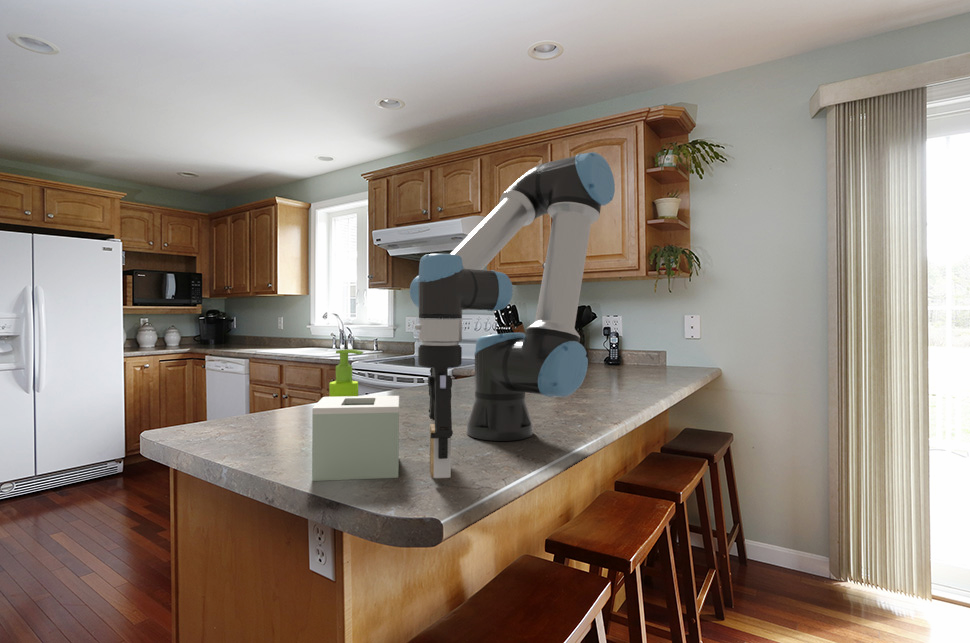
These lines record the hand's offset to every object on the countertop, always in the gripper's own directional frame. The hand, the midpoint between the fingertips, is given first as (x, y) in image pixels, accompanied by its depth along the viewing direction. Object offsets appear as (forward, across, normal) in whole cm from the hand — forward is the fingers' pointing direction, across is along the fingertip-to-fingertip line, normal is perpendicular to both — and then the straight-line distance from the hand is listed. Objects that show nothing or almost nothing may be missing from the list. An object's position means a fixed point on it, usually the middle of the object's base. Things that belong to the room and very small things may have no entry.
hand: (439, 465), depth 92 cm
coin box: (+1, -4, -14) cm, 15 cm away
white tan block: (+1, 0, 0) cm, 1 cm away
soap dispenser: (+1, -22, -18) cm, 28 cm away
